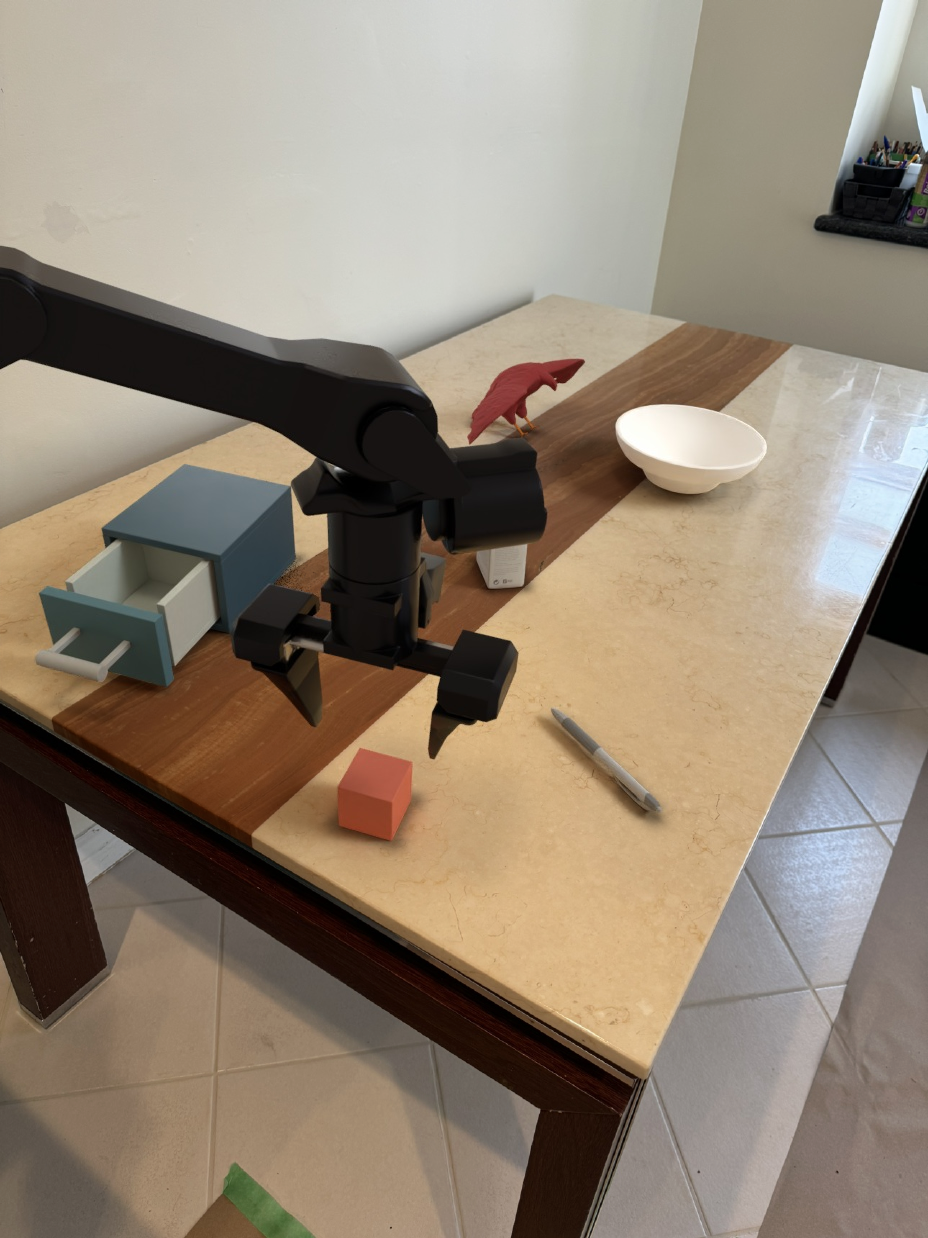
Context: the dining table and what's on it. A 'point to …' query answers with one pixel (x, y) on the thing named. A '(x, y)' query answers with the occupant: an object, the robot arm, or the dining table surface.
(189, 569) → the open handled drawer
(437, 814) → the dining table surface
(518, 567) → the cosmetic box
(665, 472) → the bowl
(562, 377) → the decorative bird sculpture
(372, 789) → the terracotta rounded cube
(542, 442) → the dining table surface
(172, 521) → the cabinet
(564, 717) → the pen
